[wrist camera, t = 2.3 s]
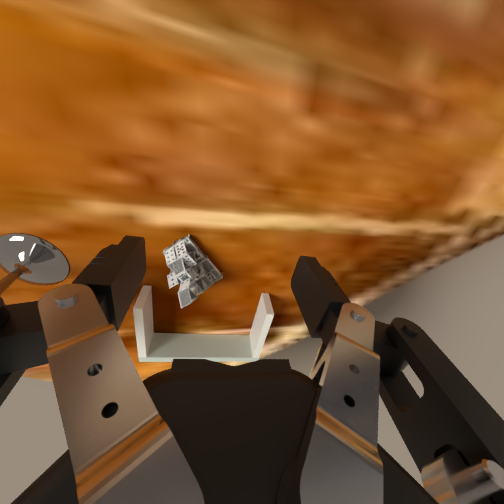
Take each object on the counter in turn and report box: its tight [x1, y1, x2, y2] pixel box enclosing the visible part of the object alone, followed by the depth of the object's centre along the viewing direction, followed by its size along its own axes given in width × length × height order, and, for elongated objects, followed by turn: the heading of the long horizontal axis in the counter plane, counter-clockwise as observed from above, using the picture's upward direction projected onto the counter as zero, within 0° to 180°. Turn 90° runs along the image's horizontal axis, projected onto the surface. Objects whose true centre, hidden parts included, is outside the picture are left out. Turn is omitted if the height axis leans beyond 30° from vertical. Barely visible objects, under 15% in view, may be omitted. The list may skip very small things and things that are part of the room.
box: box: [133, 285, 274, 362], centre depth 31 cm, size 10×17×4 cm, turn 79°
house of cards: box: [163, 234, 223, 308], centre depth 24 cm, size 9×9×8 cm
